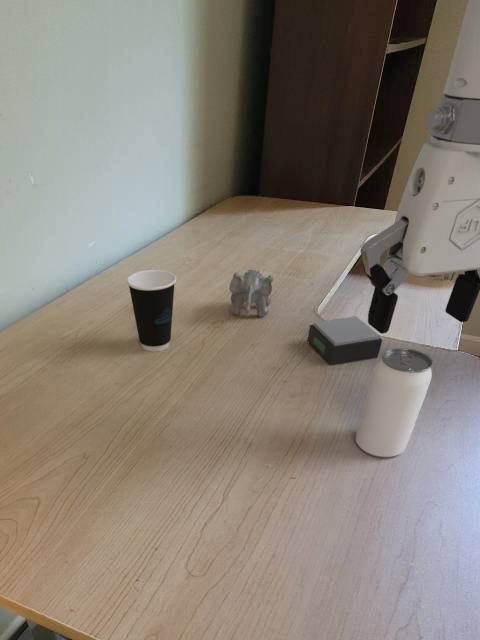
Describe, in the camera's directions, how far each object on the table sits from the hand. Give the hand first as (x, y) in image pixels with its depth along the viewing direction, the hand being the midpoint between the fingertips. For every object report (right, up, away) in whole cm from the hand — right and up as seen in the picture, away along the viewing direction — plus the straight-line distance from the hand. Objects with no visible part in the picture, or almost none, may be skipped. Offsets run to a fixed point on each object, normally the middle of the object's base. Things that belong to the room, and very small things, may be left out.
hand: (416, 322), depth 56 cm
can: (+1, -11, +12) cm, 17 cm away
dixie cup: (-30, +10, +33) cm, 46 cm away
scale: (+2, +8, +30) cm, 32 cm away
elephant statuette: (-12, +18, +41) cm, 46 cm away
